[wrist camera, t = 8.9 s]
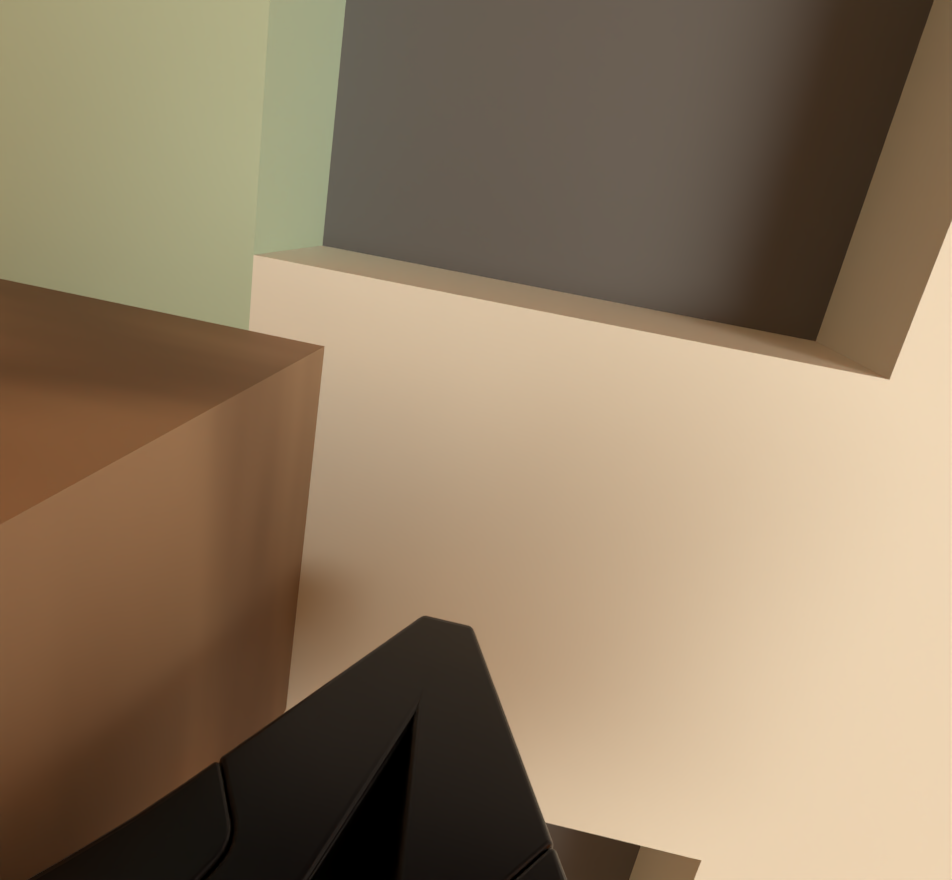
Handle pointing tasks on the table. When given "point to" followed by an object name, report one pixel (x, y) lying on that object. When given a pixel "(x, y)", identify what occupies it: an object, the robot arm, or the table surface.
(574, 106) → the trap deck
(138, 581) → the walnut block
